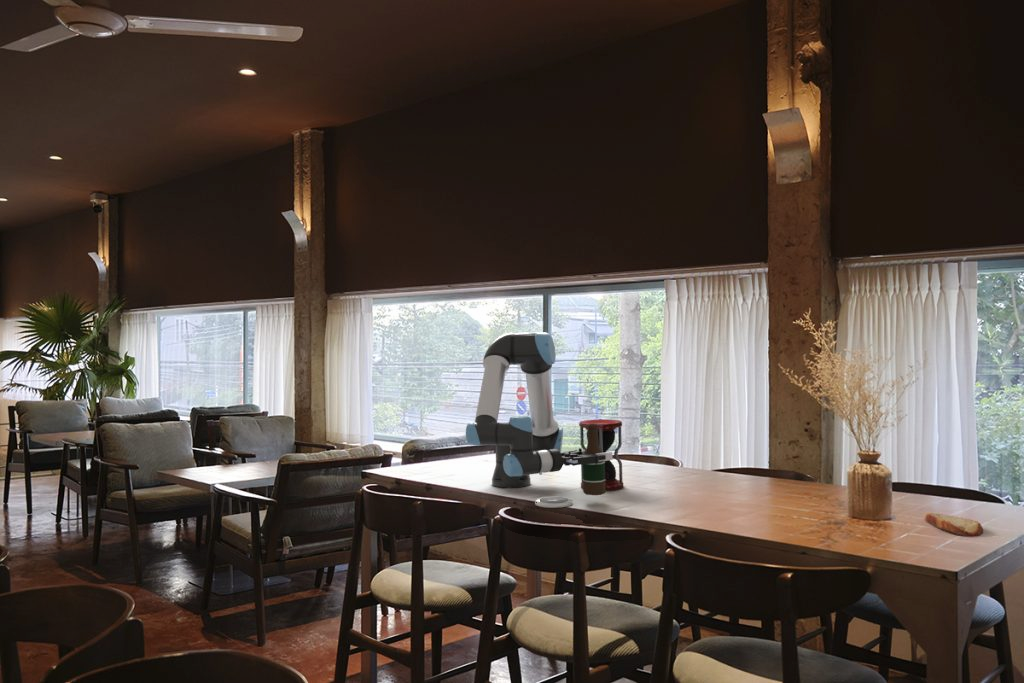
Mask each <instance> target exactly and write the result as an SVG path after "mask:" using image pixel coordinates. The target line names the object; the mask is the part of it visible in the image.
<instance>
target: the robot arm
mask: <svg viewBox="0 0 1024 683" xmlns="http://www.w3.org/2000/svg"><path fill="white" fill-rule="evenodd" d="M555 363H556V347H555V342H554V339H553V337H552V334H550V333H548V332H540V331H536V332H509V333H507V332H506V333H504V334H502V335H500V336H499V337H497V338H496V339H495V340H494V341H493V342H492V343H490V345H489V346H488V348H487V350H486V351H485V353H484V356H483V361H482V365H483V368H484V369H483V370H484V371H483V376H482V381H481V387H480V391H479V398H478V403H477V408H476V412H475V419H474V421H472V422H468V423H467V425H466V428H465V440H466V442H467V444H469V445H470V446H479V447H481V446H495V467H494V471H493V475H492V479H491V485H492V486H493V487H498V488H506V489H508V488H522V487H526V486H527V487H528V486H529V485H531V476H530V475H536V474H537V475H538V474H539V476H542V475H543V474H545V473H554V472H560V471H561V470H562V468H563V467H564V466H569V467H570V466H571V465H572V466H574V467H575V466H581V465H582V464H593V463H595V464H597V463H599V461H608V460H610V461H613V451H606V452H605V453H596V454H595V455H583V453H584V451H585V450H583V449H582V447H581V448H578V449H575V450H574V449H573V450H568V451H567V450H566V451H562V449H563V439H564V438H563V437H564V429H563V427H560V426H559V423H558V421H556V420H555V418H554V411H553V410H554V409H553V401H552V393H551V391H552V390H551V382H550V372H549V371H551V369H552V367H553V365H554V364H555ZM510 366H520V370H521V371H522V373H524V374H525V380H526V388H527V397H528V404H529V412H530V416H528V415H527V416H525V415H515V416H510V418H509V421H508V422H506V421H504V422H498V420H499V419H498V418H499V414H500V406H501V403H502V402H501V401H502V394H503V389H504V383H505V376H506V372H508V370H509V369H510Z"/></svg>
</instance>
